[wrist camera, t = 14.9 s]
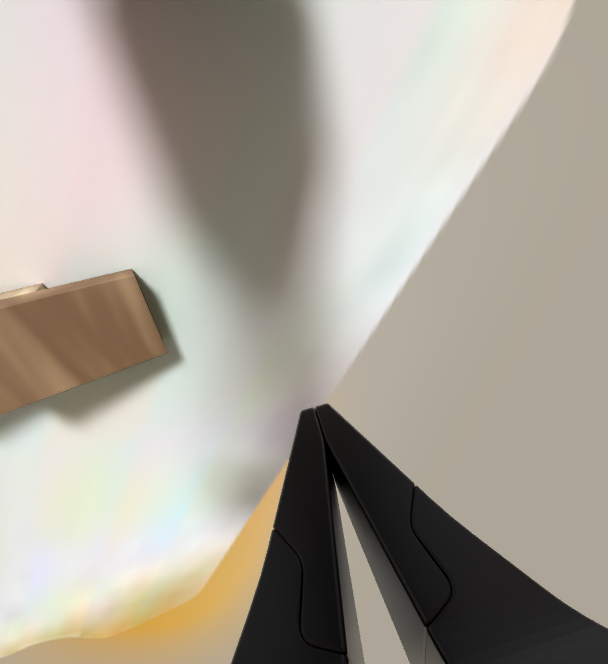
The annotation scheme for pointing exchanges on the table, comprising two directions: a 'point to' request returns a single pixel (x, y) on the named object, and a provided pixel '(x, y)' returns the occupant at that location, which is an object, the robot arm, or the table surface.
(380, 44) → the table surface
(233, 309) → the table surface
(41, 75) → the table surface
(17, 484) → the table surface
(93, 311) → the tile
